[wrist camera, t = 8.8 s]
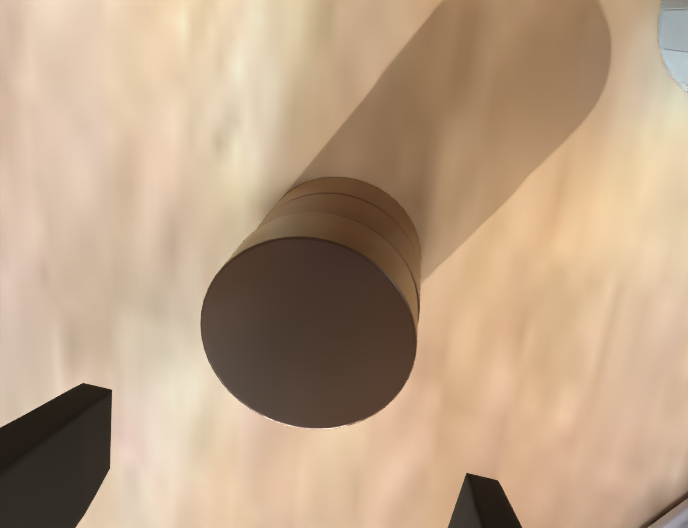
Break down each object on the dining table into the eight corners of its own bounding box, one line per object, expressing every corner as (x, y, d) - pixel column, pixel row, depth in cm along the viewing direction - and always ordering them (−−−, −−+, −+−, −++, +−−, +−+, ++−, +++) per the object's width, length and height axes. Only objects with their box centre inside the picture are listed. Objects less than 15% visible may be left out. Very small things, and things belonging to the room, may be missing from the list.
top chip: (459, 291, 16) (464, 326, 14) (343, 419, 18) (333, 464, 17) (290, 170, 16) (272, 190, 14) (189, 318, 18) (162, 353, 16)
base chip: (455, 241, 20) (457, 264, 18) (358, 354, 22) (351, 384, 20) (318, 142, 19) (307, 155, 17) (232, 267, 21) (213, 291, 20)
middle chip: (457, 264, 18) (461, 292, 16) (351, 384, 20) (344, 421, 18) (307, 155, 17) (293, 172, 16) (213, 291, 20) (192, 319, 18)
